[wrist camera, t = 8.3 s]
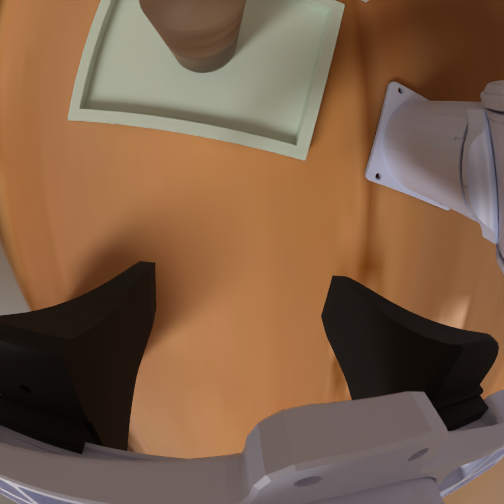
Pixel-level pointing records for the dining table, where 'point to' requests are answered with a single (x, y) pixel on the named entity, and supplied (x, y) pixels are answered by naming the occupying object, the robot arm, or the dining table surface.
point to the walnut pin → (197, 30)
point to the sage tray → (213, 76)
